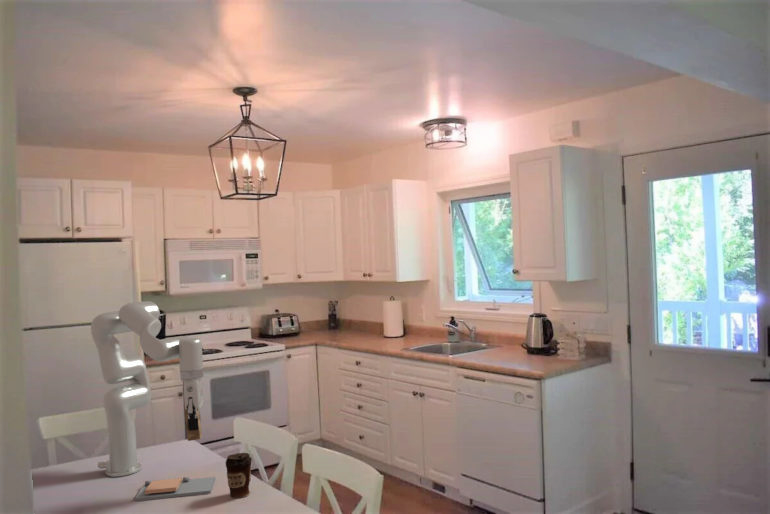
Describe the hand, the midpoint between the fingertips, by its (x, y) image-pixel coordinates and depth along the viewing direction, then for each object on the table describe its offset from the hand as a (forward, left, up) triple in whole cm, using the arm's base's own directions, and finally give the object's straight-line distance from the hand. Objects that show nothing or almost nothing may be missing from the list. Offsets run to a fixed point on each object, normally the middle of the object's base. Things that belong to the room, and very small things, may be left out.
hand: (194, 427), depth 210 cm
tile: (-11, 0, -19) cm, 22 cm away
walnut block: (0, 0, -4) cm, 4 cm away
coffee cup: (+15, -10, -21) cm, 28 cm away
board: (-7, +1, -21) cm, 22 cm away
